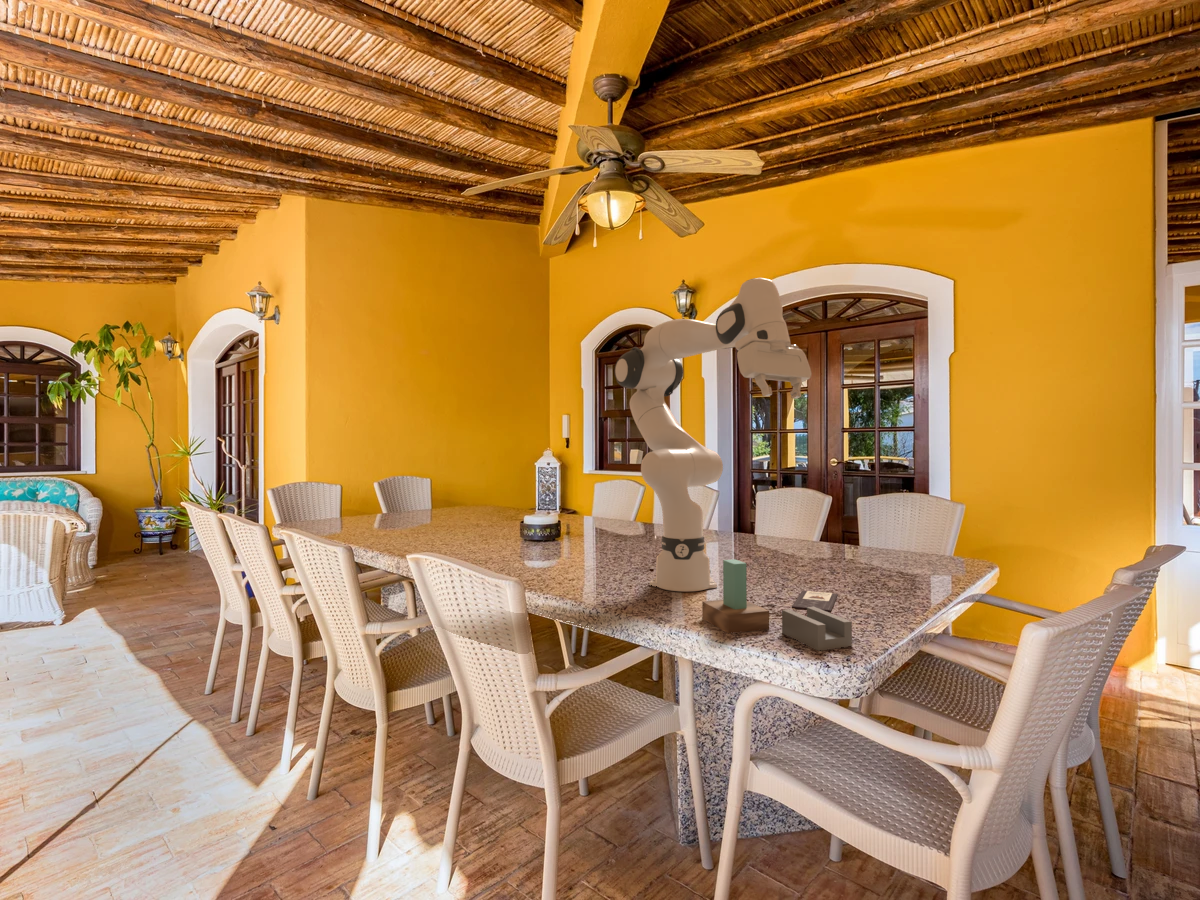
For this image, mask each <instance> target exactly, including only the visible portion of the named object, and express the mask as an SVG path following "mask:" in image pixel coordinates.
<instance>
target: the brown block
mask: <svg viewBox="0 0 1200 900" xmlns="http://www.w3.org/2000/svg"><path fill="white" fill-rule="evenodd" d="M701 604H702V607H701V608H702V609H701V610H702V611H701V613H702V620H703V621H706V623H707V622H708V623H709V624H711V625H713V626H714V627H716V628H717V629H719V630H721V631H723V632H725V633H727V635H728V634H729V635H730V634H738V633H747V632H748V633H749V632H754V631H755V632H756V631H765V630H766V631H767V630H770V610H768V609H766V608H763V607H762V606H758V604H755V603H752V602H750V601H748V600H747V608H744V609H733V608H731V607H729V606H726V605H724V604H723V599H715V600H707V601H706V600H705V601H704V600H703V601H702V603H701Z"/></svg>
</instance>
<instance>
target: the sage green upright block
mask: <svg viewBox="0 0 1200 900" xmlns="http://www.w3.org/2000/svg"><path fill="white" fill-rule="evenodd" d="M722 563H723V565H722V566H723V567H722V569H723V570H722V573H723V575H722V581H723V582H722V587H723V589H722V590H723V591H722V592H723V593H722V595H723V598H722V600H723V604H724V605H726V606H729V607H731V608H733V609H744V608H747V601H748V600H747V595H748V594H747V586H748V585H747V582H748V581H747V579H748V578H747V577H748V576H747V563H746V562H744V561H741V560H739V559H723V561H722Z"/></svg>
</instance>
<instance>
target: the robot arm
mask: <svg viewBox="0 0 1200 900" xmlns="http://www.w3.org/2000/svg"><path fill="white" fill-rule="evenodd" d="M781 299H782V298H781V296H780V293H779V291H778V288H777V285H776V284H775V282H774V281H773V280H771V279H769V278H764V277H757V278H756V277H755V278H750V279H748V280H746V281H744V282H742V284H741V285H740V288H739V292H738V295H737V296H736V297H735V298H734V300H733V301H732V303H731V304H729V306H728V307H726V308H724V309H723V310H722V311H720V313H719V315H718V316H717V318H716V320H715V323H710V322H705V321H701V320H696V319H689V318H688V319H687V318H676V319H672V320H667V321H665V322H662V323H659V324H657V325H655V326H654V327H652V328H650V329H649V330H648V331H647V332H646V334H645V336H644V341H643V342H644V343H643V346H642V347H641V348H639V347H637V346H634V347H631V349H630V350H629V351H627V352H625V353H624V354H622V355H621V356H620V357H619V358H618V360H617V361H616V363H615V366H614V377H615V379H616V382H617V384H619V386H621V387H623V388H625V389H628V390H632V389H634V390H635V389H636V391H635V392H634V393H633V395H631V397H630V399H629V408H630V412H631V415H632V418H633V420H634V423H635V424H636V425H635V426H636V427H637V429H638V431H639V433H640V434H641V436H642V438H643V439H644V441H645V443H646V446H648V448H649V449H650V450H651V451H649V452H648V453H646V454H645V456H644V457H643V458H642V460H641V465H640V473H641V476H642V479H643V480H644V482H645V483H646V484H647V485H648V486H649V487H650V488H652V490H653V491H654V492H655V494H656V495H657V498H658V501H659V503H660V506H661V512H662V525H663V526H662V529H663V531H662V533H663V535H662V536H661V542H660V543H661V549H662V550H661V551H660V553H659V554H658V555H657V556H656V562H655V563H656V564H655V565H656V568H655V577H654V578H653V579H651V580H650V581H649V586H651V585H652V587H656V586H657V587H656V588H659V589H662V590H666V591H672V592H698V591H703V590H708V589H715V588H718V583H717V582H716V581H715V580H714V579H713V578H712V577H711V568H710V567H711V566H710V564H711V562H710V557H709V556H708V554H706V553H705V544H706V543H705V537H704V536H703V535H704V534H703V533H704V531H703V528H704V527H703V525H704V524H703V522H704V521H703V515H704V514H703V510H702V508H701V506H700V505H699V504H698V503H696V502H695V501H693V500H692V498H691V497H690V494H689V491H688V488H690V487H691V488H692V487H693V488H695V487H704V486H707V485H708V486H709V485H711V484H714V483H716V482H718V481H719V479H720V478H721V476H722V474H723V469H724V468H723V467H724V464H723V461H722V458H721V456H720V455H719V454H718V452H716V451H715V450H713V449H709V448H708V447H706V446H705V445H702V444H701V443H700V442H699V441H697V439H695V438H694V437H692V436H691V435H690V434H689V433H688V432H686V430H685V429H684V428H683V427H682V426H681V424H680V423H679V421H678V420H677V419H676V417H675V415H674V414H673V412H672V411H671V409H670V408H669V406H668V404H667V403H666V400H665V397H669V396H671V395H673V393H674V391H675V390H676V389H677V388H678V387H679V386H680V384H681V382H682V380H683V377H684V368H683V364H682V362H681V360H680V359H684V358H688V357H692V356H697V355H700V354H704V353H705V354H706V353H709V352H710V353H711V352H715V351H718V350H725V349H733V348H735V349H736V350H737V351H736V352H737V353H736V356H737V357H736V359H737V364H738V369H739V372H740V374H741V375H742V376H743V377H744V378H748V379H754V381H755V383H756V385H757V386H758V388H759V389H760V390H761V394H762V397H770V396H772V395H773V391H772V387H771V386H769V385H768V383H767V381H766V380H768V381H769V380H770V381H777V382H789V383H790V384H791V385H790V386H792V390H790V392H789V393H790V397H791V399H799V398H801V397H802V394H801V392H802V391H801V387H802V385H803V382H806V381H808V380H810V379H811V378H812V369H811V366H810V364H809V360H808V358H807V356H806V353H805V352H804V350H802V349H801V348H800V347H799V346H798V345H797V344H791V338H790V335H789V330H788V326H787V322H786V320H785V319H784V317H783V311H784V310H783V304H782V300H781Z"/></svg>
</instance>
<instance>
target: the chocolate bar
mask: <svg viewBox="0 0 1200 900" xmlns="http://www.w3.org/2000/svg"><path fill="white" fill-rule="evenodd" d="M837 597H838V593H831V592H822V591H821V592H820V591H811V590H801V592H800V593H799V595H798V596H797V598H796V599H795V601H794V602H793V604H792V606H791V609H792V608H795V609H796V610H802V609H804V611H807V607H816V608H819V609H821V610H824V611H826V612H829V613H830V612H831V613H832V611H833V608H834V605H835V603H836V601H837V599H836V598H837ZM795 609H794V610H795Z"/></svg>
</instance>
